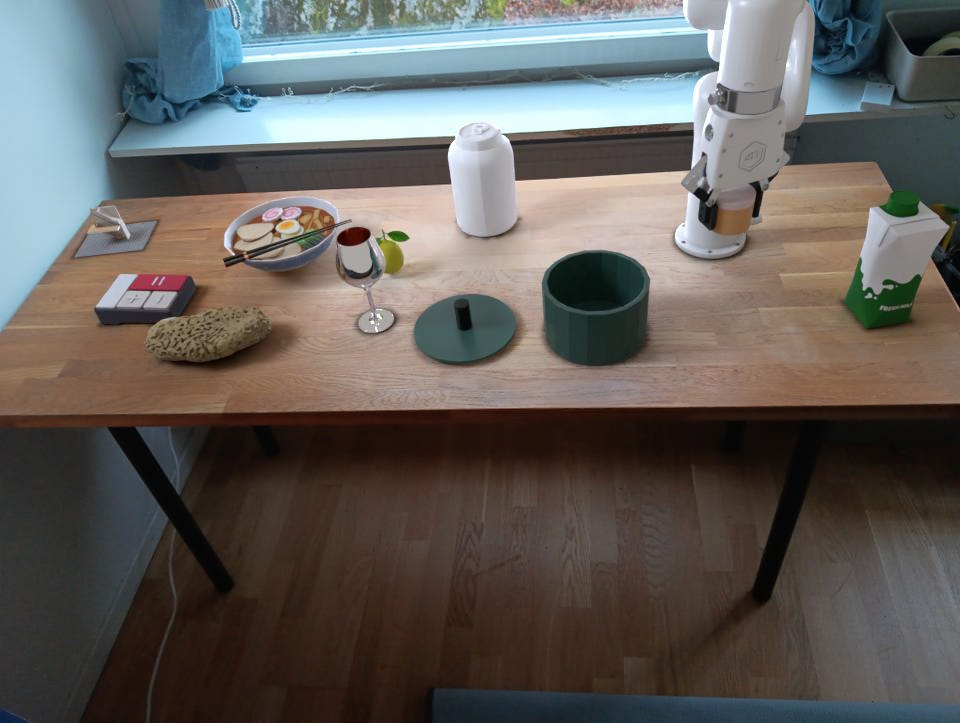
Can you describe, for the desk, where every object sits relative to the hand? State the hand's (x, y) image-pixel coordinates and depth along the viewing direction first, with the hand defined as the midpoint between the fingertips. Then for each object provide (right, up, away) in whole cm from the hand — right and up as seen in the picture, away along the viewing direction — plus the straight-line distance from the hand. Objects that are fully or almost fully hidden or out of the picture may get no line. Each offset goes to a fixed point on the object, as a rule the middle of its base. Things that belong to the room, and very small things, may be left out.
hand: (728, 218), depth 101 cm
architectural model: (-114, +7, +58) cm, 128 cm away
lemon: (-51, -3, +38) cm, 64 cm away
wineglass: (-53, -13, +28) cm, 61 cm away
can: (-33, +9, +48) cm, 59 cm away
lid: (-37, -14, +23) cm, 46 cm away
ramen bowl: (-72, +1, +45) cm, 85 cm away
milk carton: (+30, -12, +17) cm, 36 cm away
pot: (-15, -15, +20) cm, 29 cm away
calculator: (-98, -9, +38) cm, 105 cm away
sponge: (-81, -18, +27) cm, 87 cm away
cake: (0, -1, +1) cm, 1 cm away
